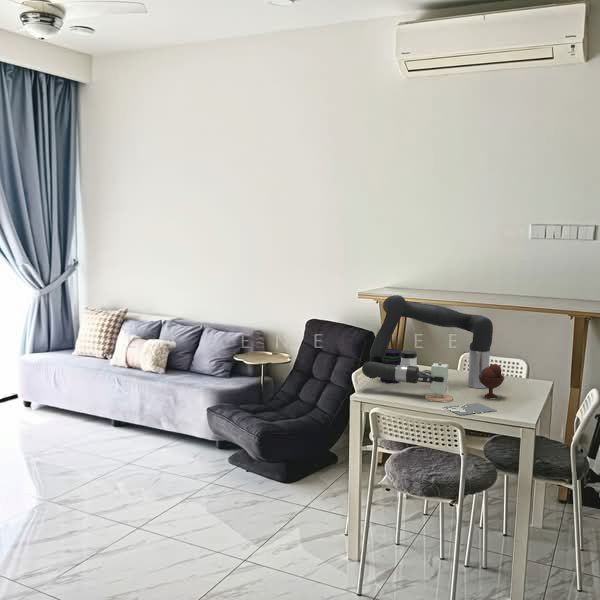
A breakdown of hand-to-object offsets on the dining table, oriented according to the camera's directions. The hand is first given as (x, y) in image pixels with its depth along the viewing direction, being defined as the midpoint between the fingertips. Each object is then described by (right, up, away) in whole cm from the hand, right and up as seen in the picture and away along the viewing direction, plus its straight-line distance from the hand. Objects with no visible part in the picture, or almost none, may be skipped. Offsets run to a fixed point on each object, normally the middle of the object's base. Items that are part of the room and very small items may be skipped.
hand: (444, 378), depth 293 cm
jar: (-9, -4, +44) cm, 45 cm away
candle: (-2, -8, +2) cm, 9 cm away
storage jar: (-19, -5, +32) cm, 38 cm away
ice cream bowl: (+21, -9, +5) cm, 24 cm away
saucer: (-2, -9, +2) cm, 10 cm away
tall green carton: (-2, -6, +2) cm, 7 cm away
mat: (+7, -11, -15) cm, 20 cm away
